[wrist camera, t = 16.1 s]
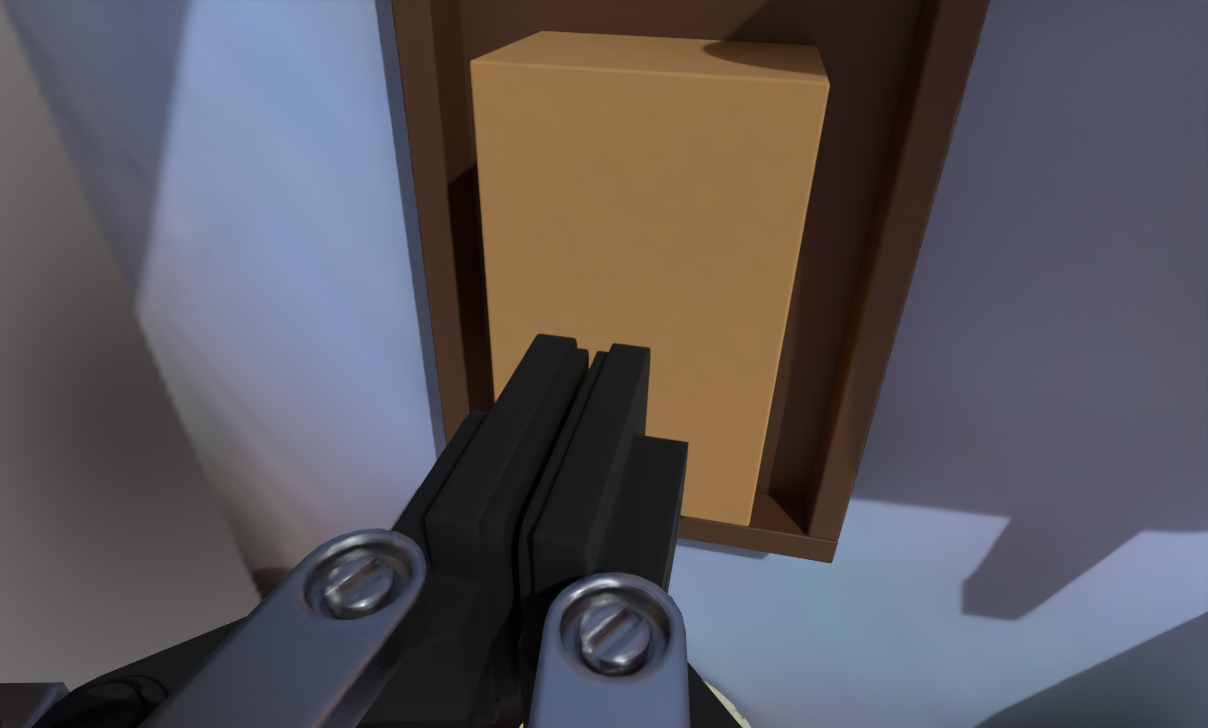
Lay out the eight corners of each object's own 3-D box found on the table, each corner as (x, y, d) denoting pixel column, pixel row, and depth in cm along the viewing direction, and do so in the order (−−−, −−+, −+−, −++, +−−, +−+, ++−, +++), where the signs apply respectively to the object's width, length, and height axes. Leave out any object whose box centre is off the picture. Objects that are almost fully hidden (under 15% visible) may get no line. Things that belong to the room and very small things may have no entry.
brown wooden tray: (420, -173, 14) (366, -189, 12) (1005, -171, 12) (1045, -189, 10) (478, 453, 22) (451, 499, 20) (827, 509, 20) (832, 564, 18)
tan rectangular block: (539, 30, 14) (468, 59, 11) (818, 44, 14) (830, 82, 10) (548, 390, 19) (499, 486, 16) (754, 419, 18) (748, 527, 15)
